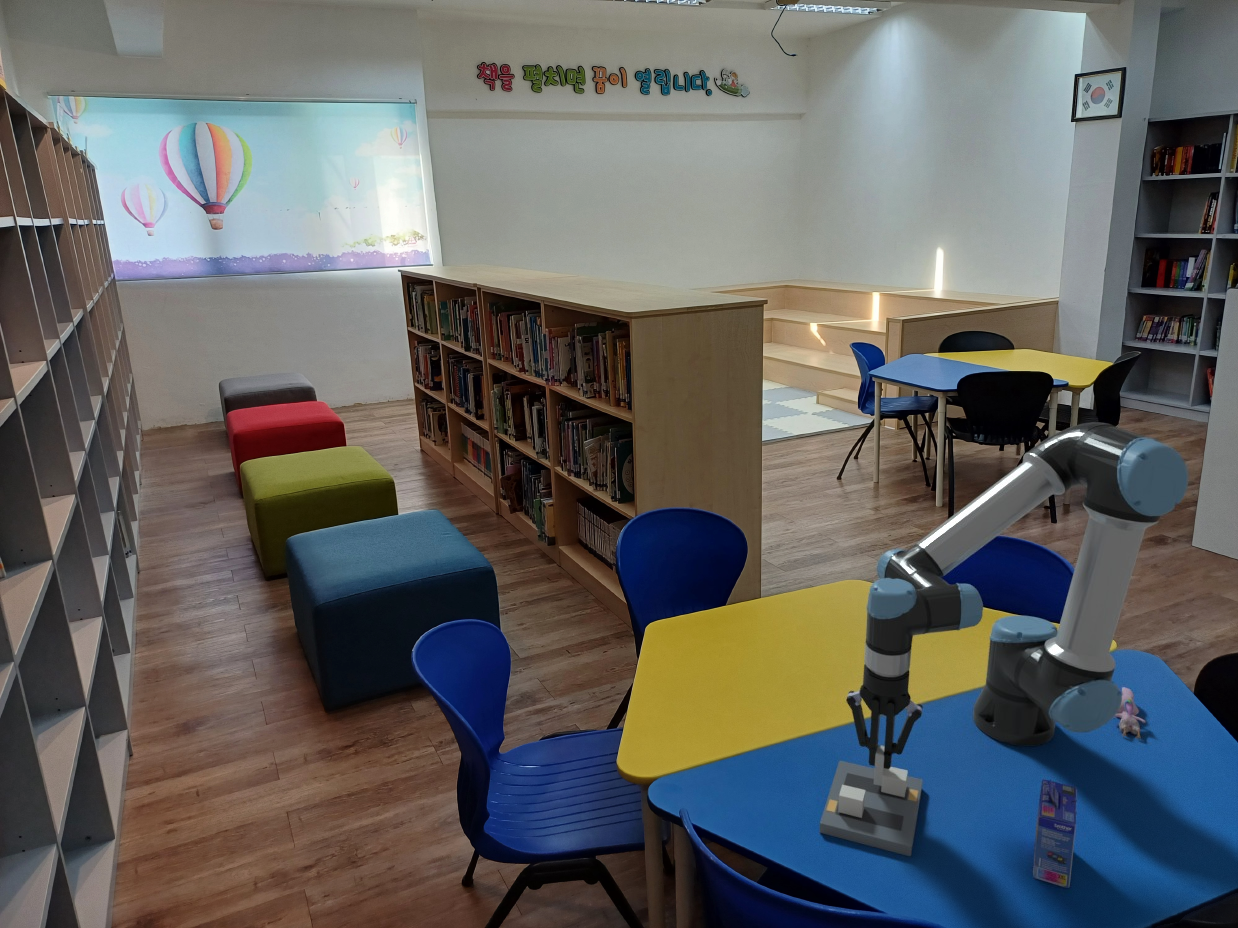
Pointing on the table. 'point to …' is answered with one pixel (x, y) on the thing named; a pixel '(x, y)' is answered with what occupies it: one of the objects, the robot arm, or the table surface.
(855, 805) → the near tab
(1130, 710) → the rabbit figure
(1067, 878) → the ink cartridge box
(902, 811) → the switch bank
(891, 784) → the far tab
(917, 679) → the table surface
